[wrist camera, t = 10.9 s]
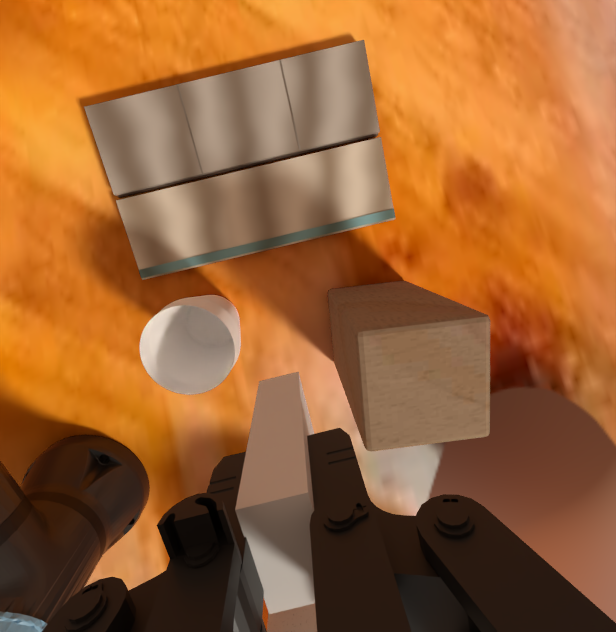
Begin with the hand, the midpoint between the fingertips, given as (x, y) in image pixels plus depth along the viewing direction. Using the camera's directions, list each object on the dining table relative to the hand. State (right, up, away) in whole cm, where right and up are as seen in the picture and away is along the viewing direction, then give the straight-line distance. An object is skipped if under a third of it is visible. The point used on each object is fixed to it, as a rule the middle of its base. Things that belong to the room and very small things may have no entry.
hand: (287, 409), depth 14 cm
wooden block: (+9, +3, +33) cm, 35 cm away
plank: (-5, +16, +29) cm, 34 cm away
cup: (-11, +3, +32) cm, 34 cm away
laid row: (-7, +25, +27) cm, 38 cm away
